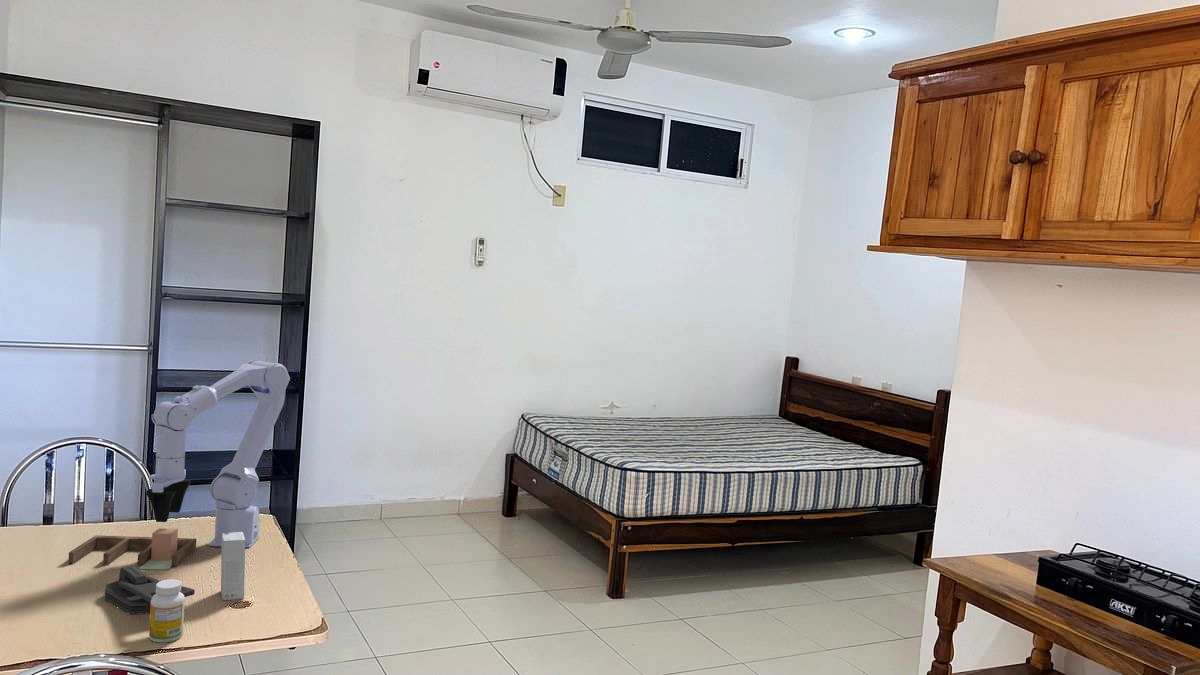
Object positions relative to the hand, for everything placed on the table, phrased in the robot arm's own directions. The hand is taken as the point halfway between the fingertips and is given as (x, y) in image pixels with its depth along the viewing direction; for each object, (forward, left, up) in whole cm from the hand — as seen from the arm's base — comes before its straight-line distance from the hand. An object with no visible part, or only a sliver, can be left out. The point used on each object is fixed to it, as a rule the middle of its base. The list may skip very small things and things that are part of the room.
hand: (168, 516), depth 194 cm
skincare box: (-20, +21, -10) cm, 31 cm away
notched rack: (+7, 0, -9) cm, 12 cm away
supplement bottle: (-15, +42, -10) cm, 46 cm away
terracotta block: (+1, 0, -9) cm, 9 cm away
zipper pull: (-7, +30, -10) cm, 32 cm away
